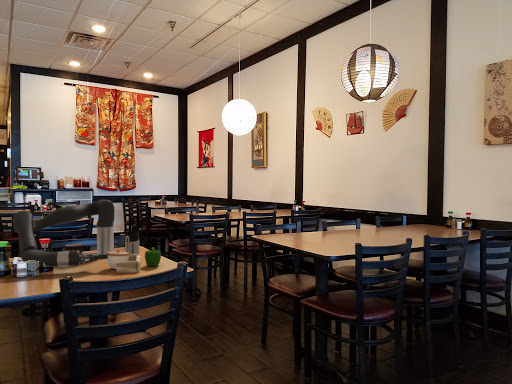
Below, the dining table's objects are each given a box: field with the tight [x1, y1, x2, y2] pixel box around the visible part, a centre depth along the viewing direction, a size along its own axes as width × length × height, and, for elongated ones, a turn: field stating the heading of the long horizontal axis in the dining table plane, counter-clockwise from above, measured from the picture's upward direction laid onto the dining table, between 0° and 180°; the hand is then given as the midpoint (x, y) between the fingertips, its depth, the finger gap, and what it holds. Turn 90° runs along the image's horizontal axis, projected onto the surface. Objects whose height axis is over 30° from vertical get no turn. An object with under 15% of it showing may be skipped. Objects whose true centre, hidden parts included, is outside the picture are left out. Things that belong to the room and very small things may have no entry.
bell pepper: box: [144, 246, 162, 267], centre depth 198 cm, size 8×8×10 cm
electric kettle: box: [124, 230, 140, 255], centre depth 216 cm, size 9×14×15 cm, turn 178°
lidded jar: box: [106, 248, 129, 270], centre depth 192 cm, size 11×11×9 cm
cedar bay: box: [115, 253, 142, 274], centre depth 193 cm, size 20×11×5 cm, turn 16°
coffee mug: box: [65, 243, 85, 264], centre depth 203 cm, size 12×9×10 cm
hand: (107, 256), depth 188 cm, fingers closed
